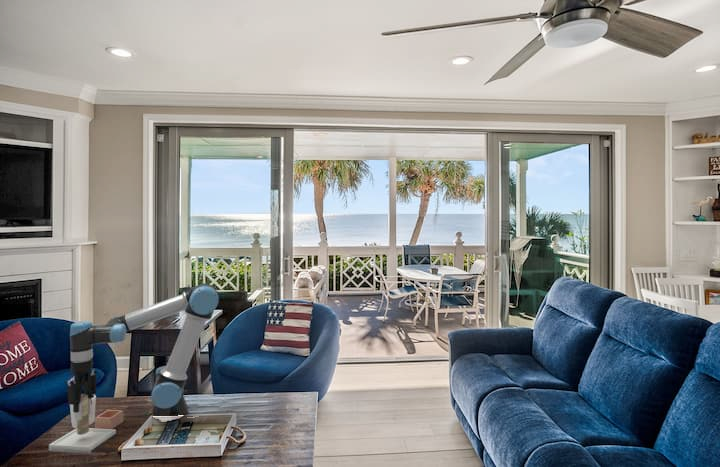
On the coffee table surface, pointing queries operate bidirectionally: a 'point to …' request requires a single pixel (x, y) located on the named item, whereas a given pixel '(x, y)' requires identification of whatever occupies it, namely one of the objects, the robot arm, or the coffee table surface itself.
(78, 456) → the coffee table surface
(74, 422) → the candle holder
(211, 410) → the coffee table surface
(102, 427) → the terracotta square planter
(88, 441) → the off-white tray
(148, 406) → the coffee table surface
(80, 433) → the birch dowel
